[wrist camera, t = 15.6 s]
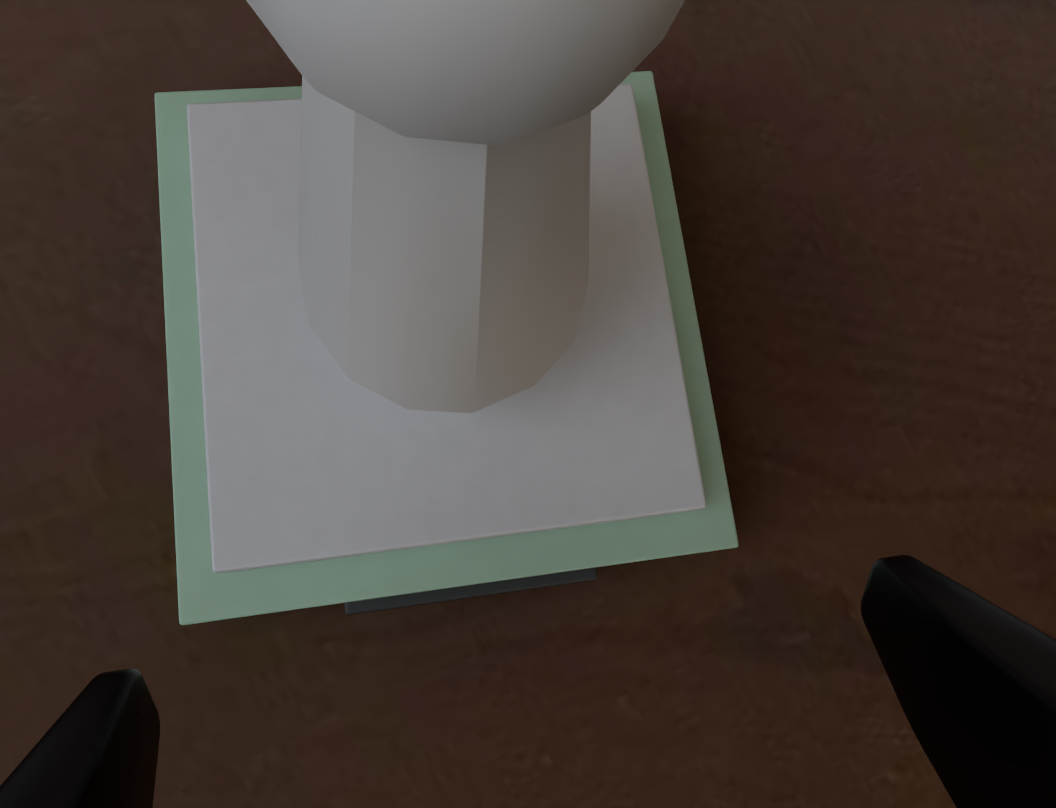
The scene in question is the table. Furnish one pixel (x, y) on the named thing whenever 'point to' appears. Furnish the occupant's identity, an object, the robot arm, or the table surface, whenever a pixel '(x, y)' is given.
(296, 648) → the table surface
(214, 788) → the table surface
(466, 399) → the salt shaker
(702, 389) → the scale
